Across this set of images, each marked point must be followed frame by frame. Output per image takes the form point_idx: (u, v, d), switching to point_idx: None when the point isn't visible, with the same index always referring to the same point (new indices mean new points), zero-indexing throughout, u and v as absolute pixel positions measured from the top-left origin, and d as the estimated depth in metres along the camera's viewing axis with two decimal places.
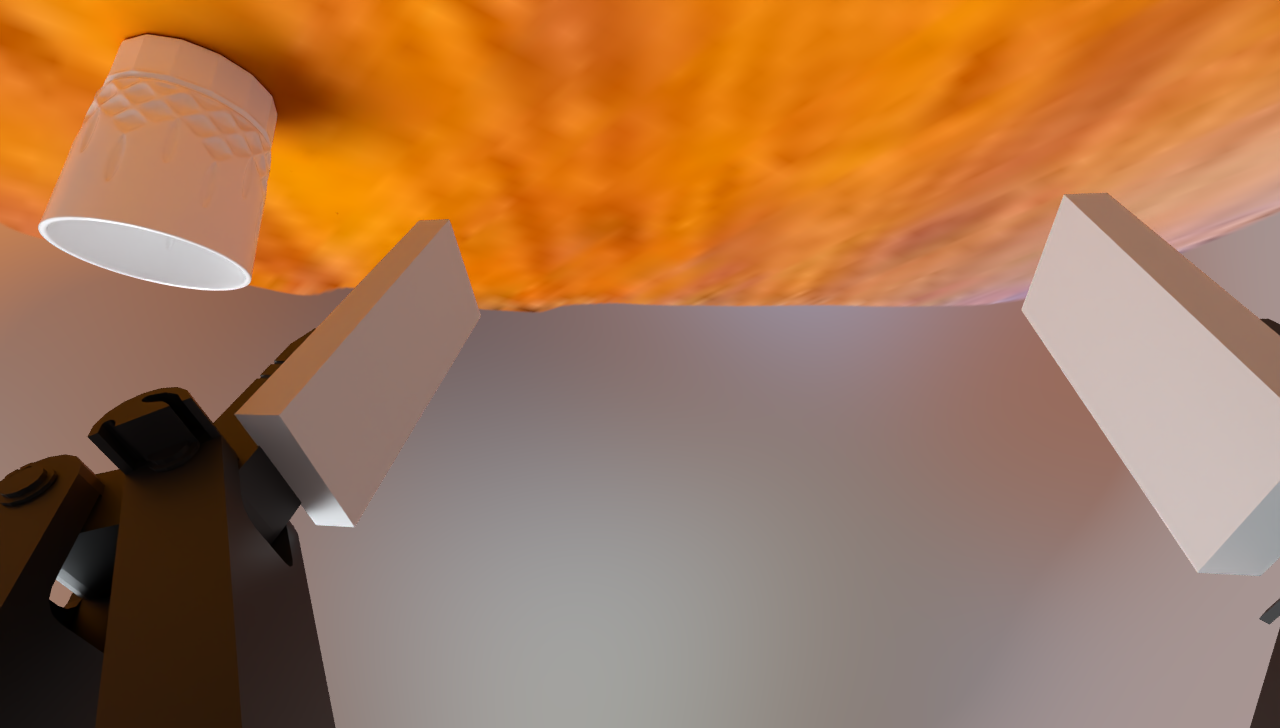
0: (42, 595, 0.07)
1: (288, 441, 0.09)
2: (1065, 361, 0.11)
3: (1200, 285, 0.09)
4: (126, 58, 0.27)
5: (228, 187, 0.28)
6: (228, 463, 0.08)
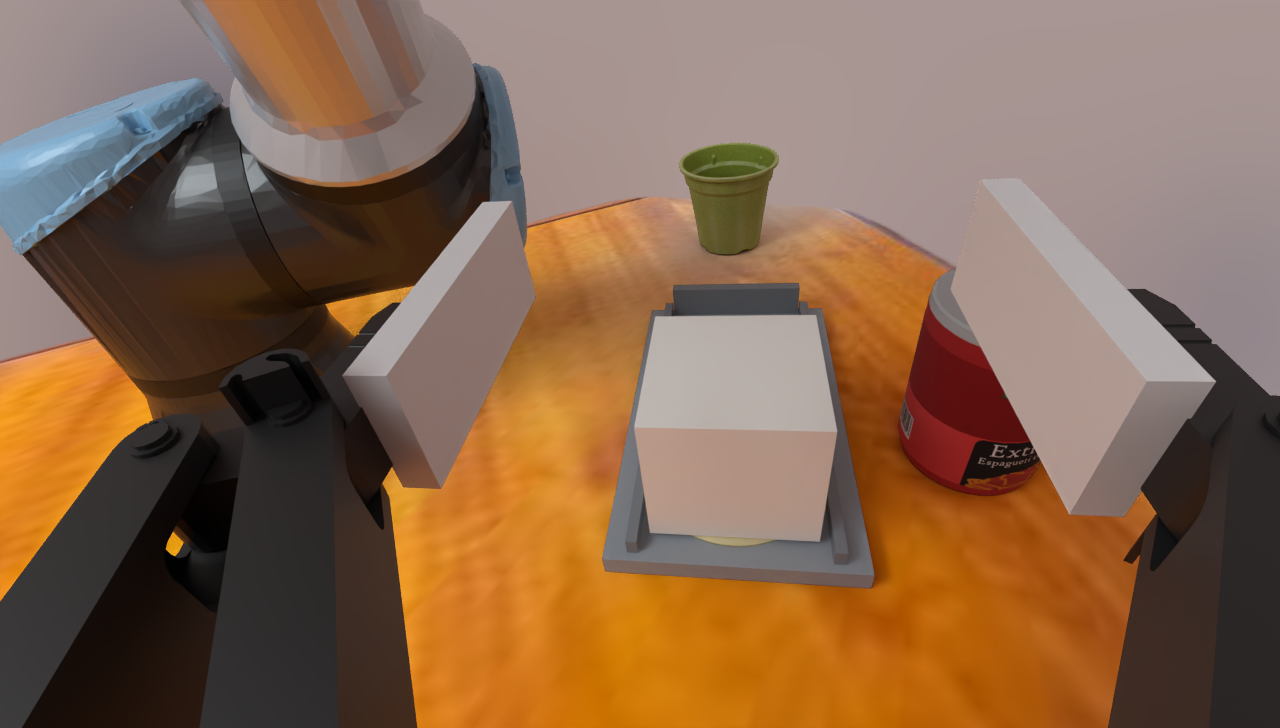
0: (159, 548, 0.07)
1: (390, 402, 0.09)
2: (981, 335, 0.12)
3: (1080, 258, 0.10)
4: None
5: None
6: (336, 425, 0.09)
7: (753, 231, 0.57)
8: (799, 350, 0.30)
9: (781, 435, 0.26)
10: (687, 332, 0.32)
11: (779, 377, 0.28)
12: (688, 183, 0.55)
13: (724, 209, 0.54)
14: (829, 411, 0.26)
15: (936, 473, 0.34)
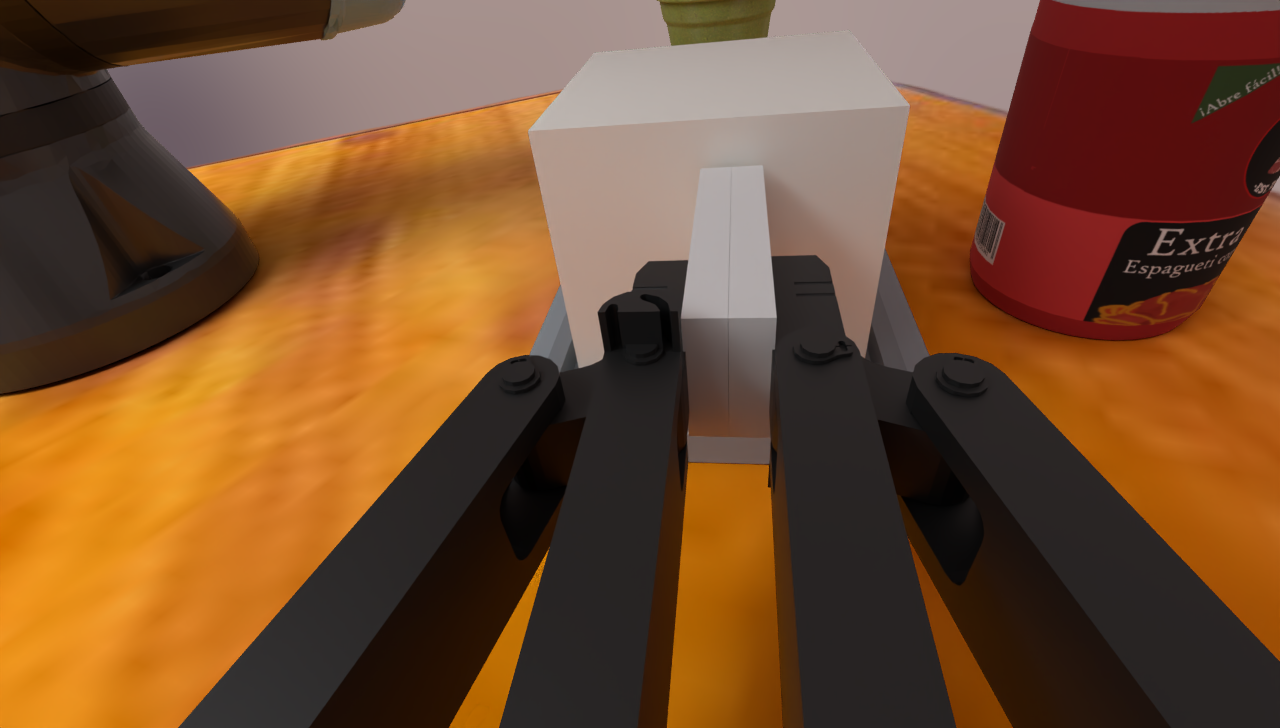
0: (499, 492, 0.08)
1: (718, 346, 0.10)
2: None
3: (756, 228, 0.12)
4: None
5: None
6: (678, 380, 0.09)
7: None
8: (826, 53, 0.18)
9: (800, 126, 0.14)
10: (642, 57, 0.20)
11: (793, 73, 0.16)
12: (666, 16, 0.43)
13: None
14: (889, 90, 0.14)
15: (1042, 308, 0.21)
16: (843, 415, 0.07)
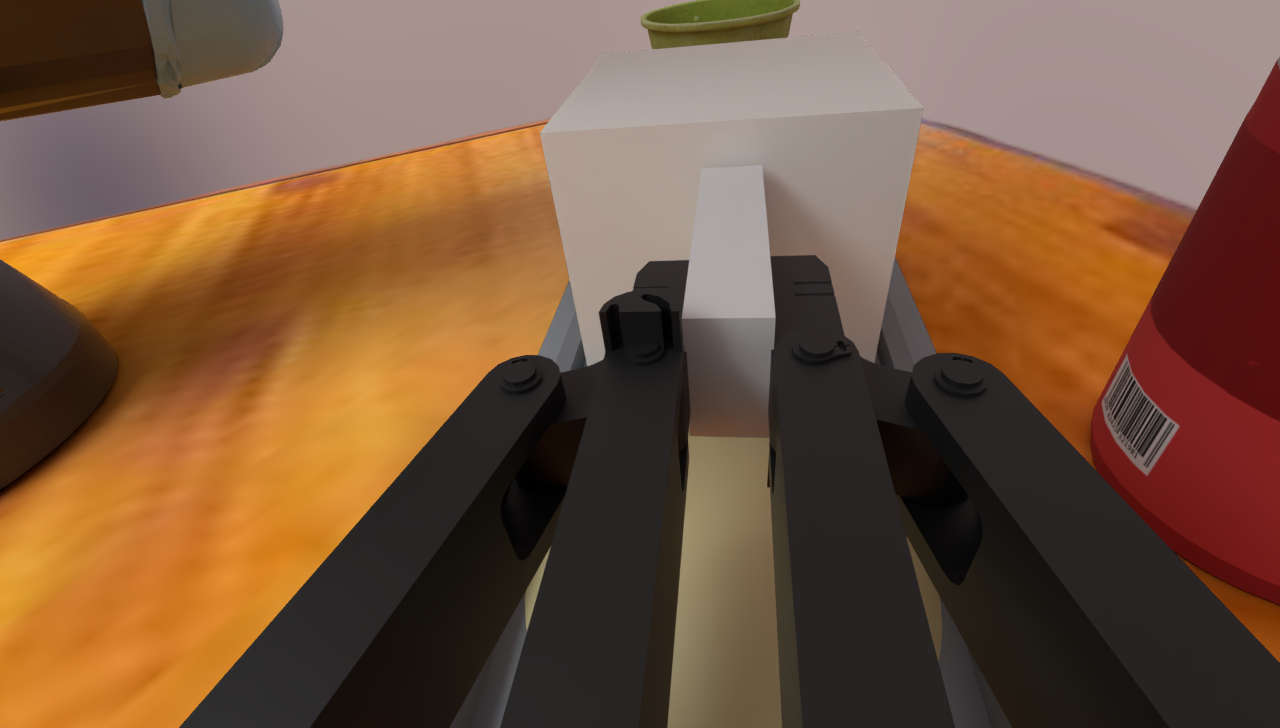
0: (501, 492, 0.08)
1: (720, 346, 0.10)
2: None
3: (755, 228, 0.12)
4: None
5: None
6: None
7: None
8: (836, 55, 0.18)
9: (813, 128, 0.14)
10: (651, 59, 0.20)
11: (804, 75, 0.16)
12: (655, 46, 0.35)
13: None
14: (902, 92, 0.14)
15: (1242, 565, 0.13)
16: (843, 415, 0.07)
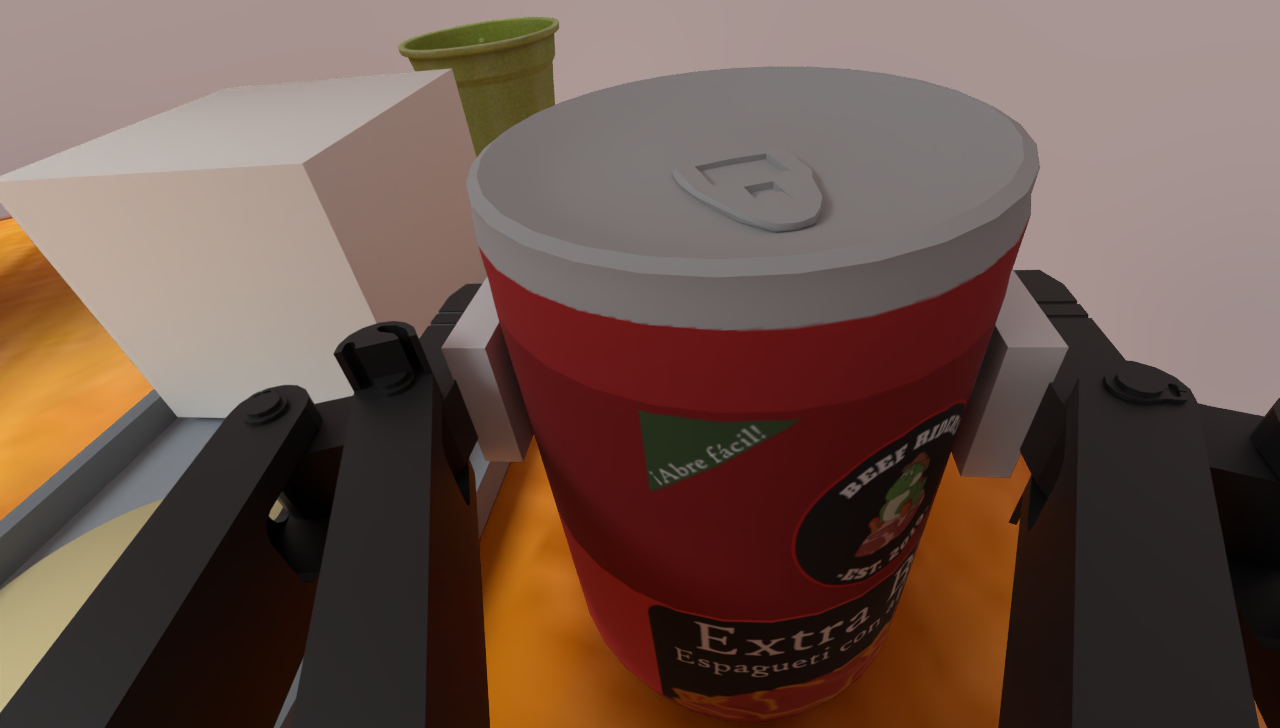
0: (262, 517, 0.08)
1: (485, 374, 0.10)
2: None
3: None
4: None
5: None
6: (435, 400, 0.09)
7: None
8: (377, 96, 0.18)
9: (219, 181, 0.14)
10: (244, 95, 0.20)
11: (304, 120, 0.16)
12: None
13: (467, 111, 0.33)
14: (325, 144, 0.14)
15: (617, 654, 0.13)
16: (1164, 467, 0.06)
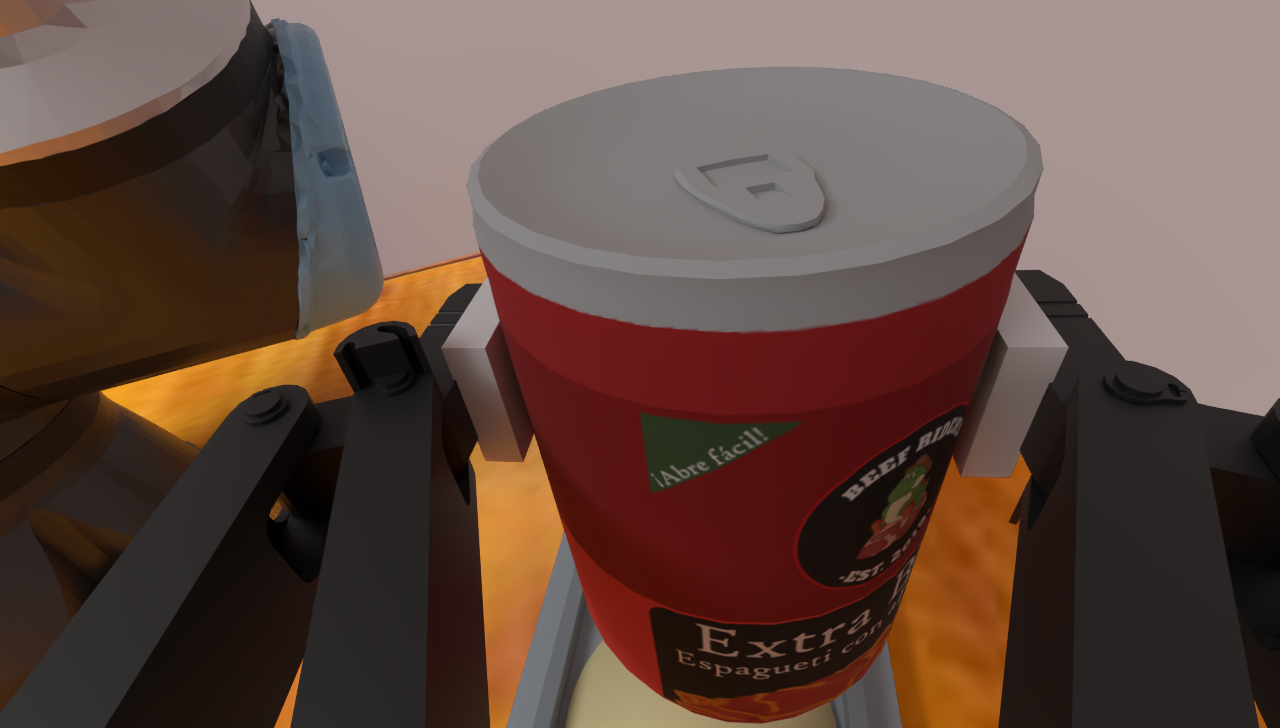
0: (262, 517, 0.08)
1: (485, 374, 0.10)
2: None
3: None
4: None
5: None
6: (435, 400, 0.09)
7: None
8: None
9: None
10: None
11: None
12: None
13: None
14: None
15: (617, 655, 0.13)
16: (1164, 468, 0.06)
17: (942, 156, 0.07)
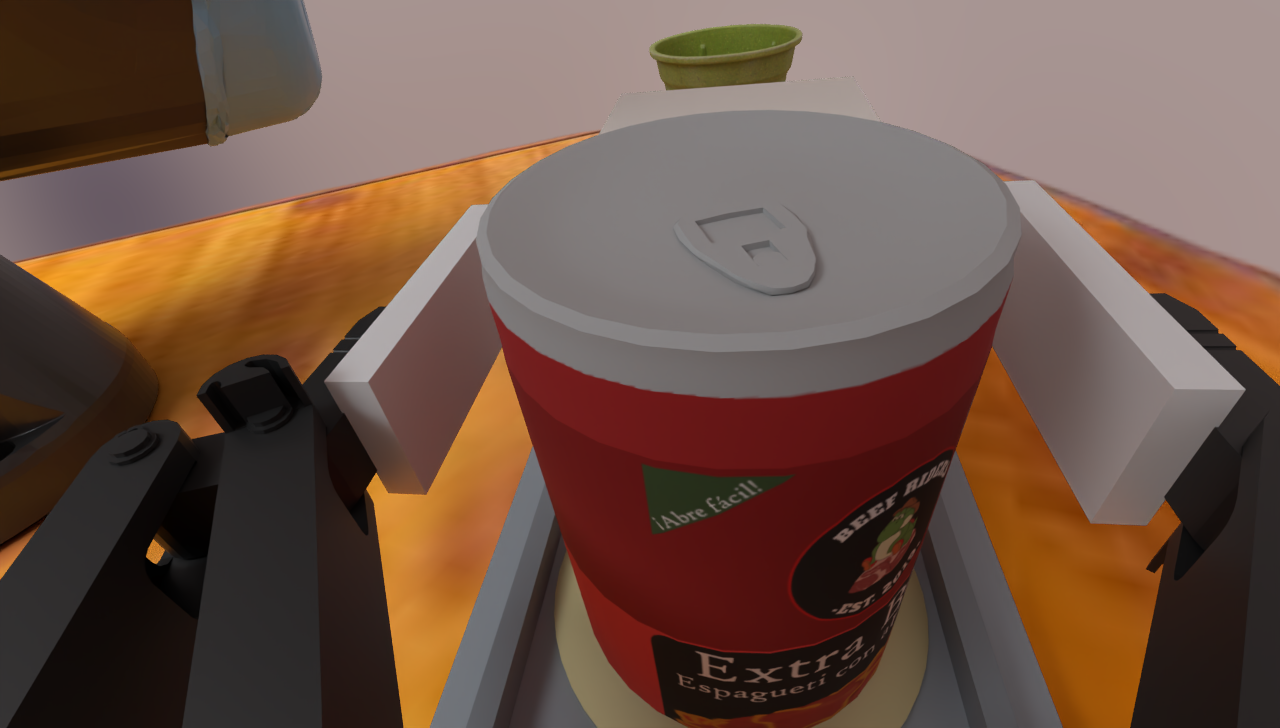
0: (139, 555, 0.07)
1: (373, 408, 0.09)
2: (995, 339, 0.12)
3: (1100, 262, 0.09)
4: None
5: None
6: (317, 431, 0.09)
7: None
8: (832, 102, 0.20)
9: None
10: (666, 101, 0.22)
11: None
12: (663, 75, 0.36)
13: None
14: None
15: (620, 674, 0.13)
16: None
17: (928, 214, 0.08)
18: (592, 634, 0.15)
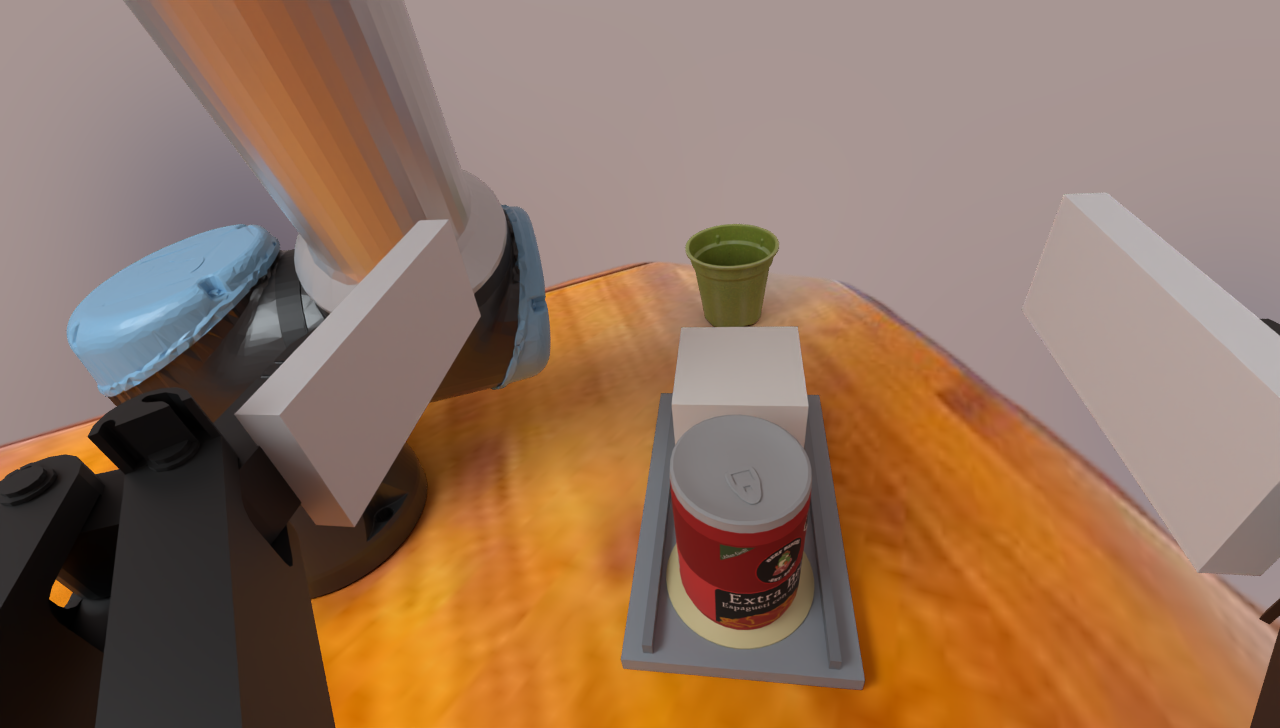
0: (42, 594, 0.07)
1: (288, 441, 0.09)
2: (1065, 362, 0.11)
3: (1200, 285, 0.09)
4: None
5: None
6: (228, 463, 0.08)
7: (755, 309, 0.61)
8: (785, 352, 0.43)
9: (771, 409, 0.39)
10: (705, 339, 0.45)
11: (770, 370, 0.41)
12: (694, 266, 0.59)
13: (727, 292, 0.58)
14: (803, 393, 0.39)
15: (698, 607, 0.36)
16: None
17: (791, 477, 0.31)
18: (683, 594, 0.38)
